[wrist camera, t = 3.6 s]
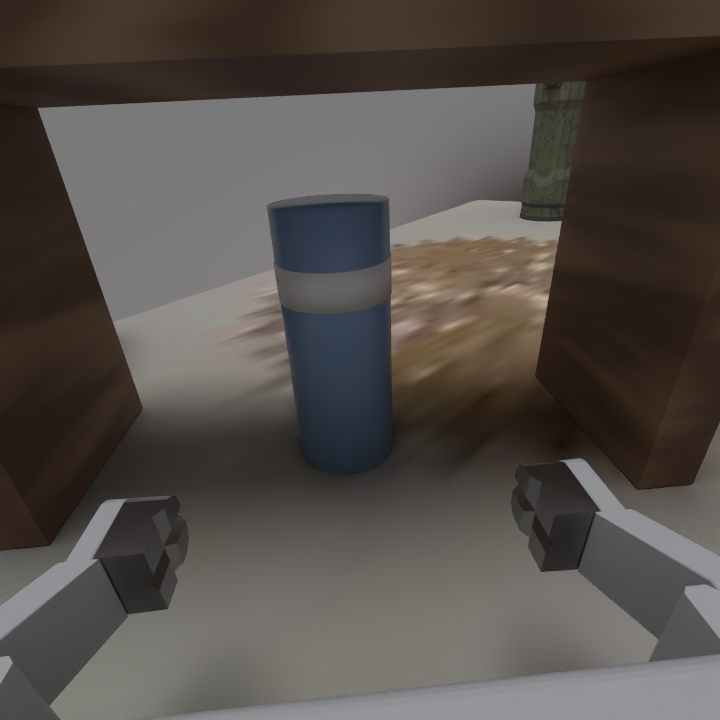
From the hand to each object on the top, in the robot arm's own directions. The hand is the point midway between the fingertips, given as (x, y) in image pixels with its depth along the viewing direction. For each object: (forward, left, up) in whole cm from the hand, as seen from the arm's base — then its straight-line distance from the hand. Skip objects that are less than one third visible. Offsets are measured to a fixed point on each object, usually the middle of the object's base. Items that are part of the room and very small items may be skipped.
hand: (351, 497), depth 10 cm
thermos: (+39, +69, -7) cm, 80 cm away
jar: (0, +10, -7) cm, 12 cm away
